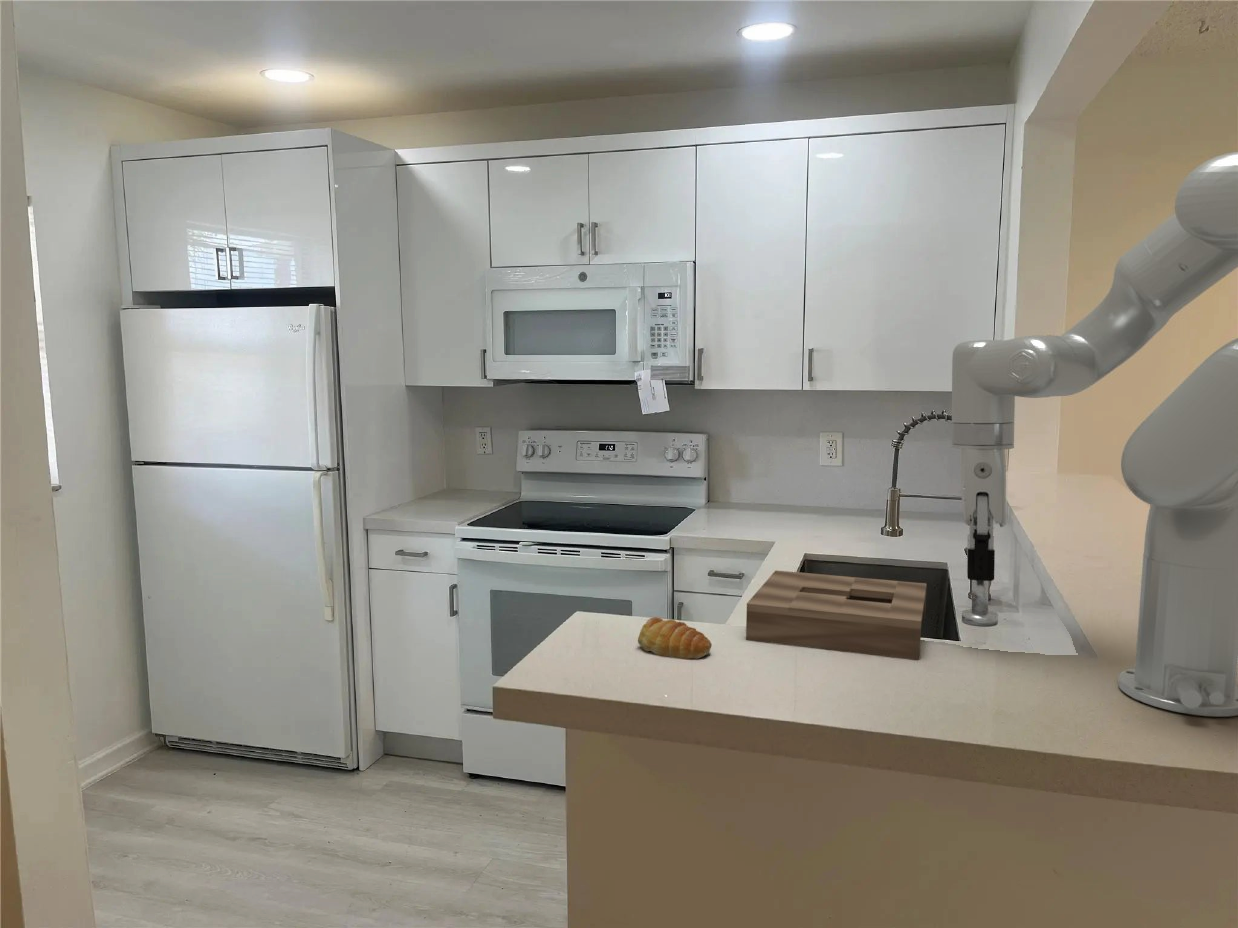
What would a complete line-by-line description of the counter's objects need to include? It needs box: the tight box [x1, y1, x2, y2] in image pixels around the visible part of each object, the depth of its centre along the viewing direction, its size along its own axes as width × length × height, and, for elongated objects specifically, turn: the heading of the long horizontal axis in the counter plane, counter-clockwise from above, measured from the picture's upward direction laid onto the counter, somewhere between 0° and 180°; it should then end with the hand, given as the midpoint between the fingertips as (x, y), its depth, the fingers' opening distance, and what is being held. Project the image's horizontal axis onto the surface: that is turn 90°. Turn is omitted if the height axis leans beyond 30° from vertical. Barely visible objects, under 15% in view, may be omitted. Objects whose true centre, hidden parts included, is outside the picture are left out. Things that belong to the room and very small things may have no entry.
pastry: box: [637, 616, 712, 660], centre depth 115 cm, size 9×7×4 cm
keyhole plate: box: [745, 569, 927, 661], centre depth 124 cm, size 20×22×5 cm
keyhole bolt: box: [961, 533, 999, 628], centre depth 117 cm, size 4×4×12 cm
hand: (980, 575), depth 117 cm, fingers closed on keyhole bolt, 3 cm apart
